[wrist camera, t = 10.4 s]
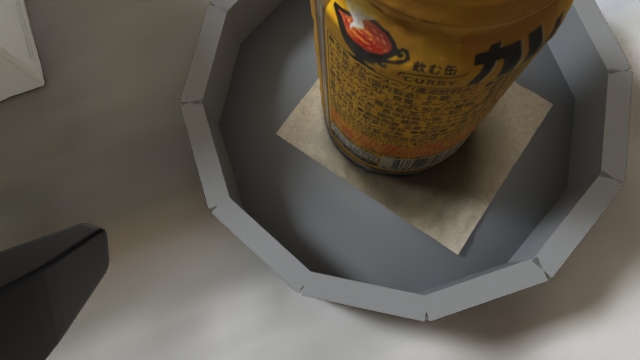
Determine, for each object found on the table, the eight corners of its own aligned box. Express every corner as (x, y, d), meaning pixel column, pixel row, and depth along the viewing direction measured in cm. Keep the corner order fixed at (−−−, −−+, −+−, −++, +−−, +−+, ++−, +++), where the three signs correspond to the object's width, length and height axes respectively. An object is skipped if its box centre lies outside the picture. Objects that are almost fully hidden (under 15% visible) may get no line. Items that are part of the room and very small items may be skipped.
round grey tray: (421, 400, 17) (438, 424, 14) (135, 135, 20) (99, 109, 17) (661, 98, 19) (718, 63, 16) (371, -101, 22) (375, -161, 19)
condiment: (375, 3, 20) (421, -393, 8) (551, 106, 19) (902, -201, 7) (276, 135, 19) (168, -111, 7) (455, 255, 17) (683, 191, 6)
